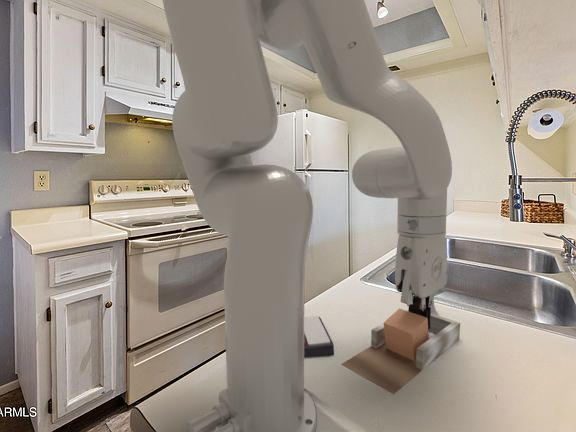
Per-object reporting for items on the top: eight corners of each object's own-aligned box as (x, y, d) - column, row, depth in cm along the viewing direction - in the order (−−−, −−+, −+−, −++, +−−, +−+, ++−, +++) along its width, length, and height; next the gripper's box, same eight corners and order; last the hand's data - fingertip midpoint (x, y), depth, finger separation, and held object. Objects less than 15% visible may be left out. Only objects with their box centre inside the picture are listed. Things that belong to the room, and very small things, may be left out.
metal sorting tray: (393, 404, 42) (394, 372, 42) (340, 373, 49) (341, 345, 48) (458, 346, 56) (460, 322, 56) (411, 329, 63) (412, 307, 63)
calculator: (242, 320, 60) (319, 312, 62) (244, 341, 61) (320, 332, 62) (241, 351, 49) (334, 340, 51) (243, 376, 50) (335, 365, 51)
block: (414, 361, 49) (412, 334, 48) (386, 348, 53) (383, 322, 52) (429, 343, 52) (427, 317, 51) (401, 332, 56) (399, 308, 55)
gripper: (421, 234, 45) (419, 353, 47) (462, 221, 55) (458, 320, 57) (376, 228, 51) (376, 335, 53) (420, 217, 60) (418, 308, 63)
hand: (419, 327), depth 55 cm, fingers closed
